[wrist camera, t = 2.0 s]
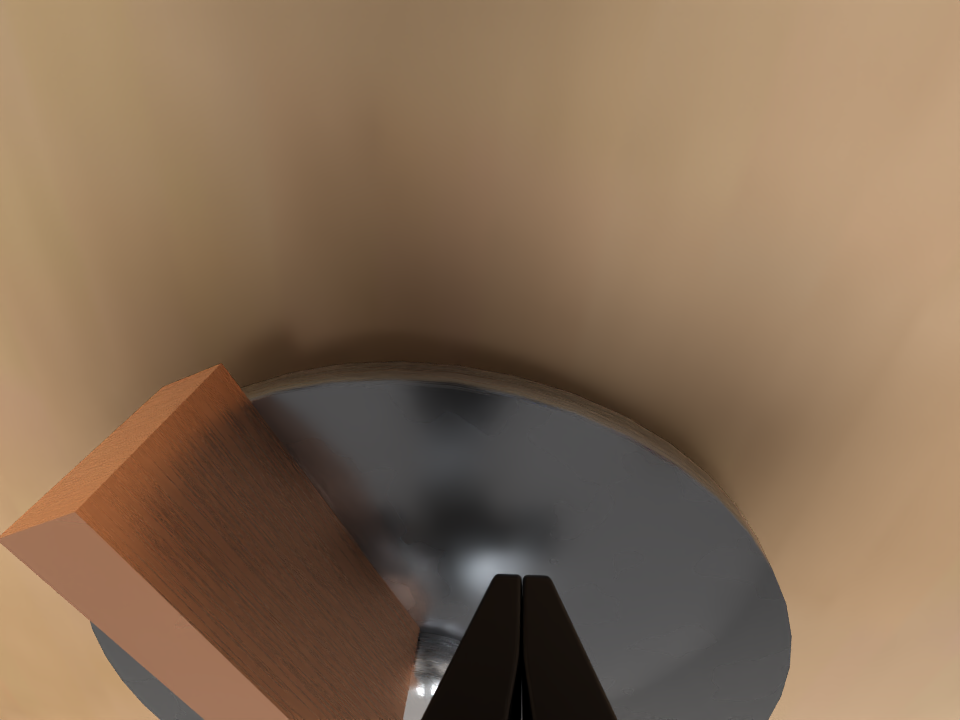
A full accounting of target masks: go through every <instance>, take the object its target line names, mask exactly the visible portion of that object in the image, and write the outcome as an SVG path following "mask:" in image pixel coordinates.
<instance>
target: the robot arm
mask: <svg viewBox="0 0 960 720" xmlns="http://www.w3.org/2000/svg"><path fill="white" fill-rule="evenodd" d="M521 718H522V720H618V719H617V717H616V715H615V713H614V711H613V709H612V706H611V704H610V702H609V700H608V698H607V696H606V694H605V692H604V689H603V687H602V685H601V683H600V681H599V679H598V677H597V675H596V672H595V670H594V668H593V666H592V664H591V662H590V660H589V658H588V655H587V653H586V651H585V649H584V647H583V645H582V643H581V641H580V638H579V636H578V634H577V632H576V630H575V628H574V626H573V624H572V621H571V619H570V617H569V615H568V613H567V611H566V609H565V607H564V604H563V602H562V600H561V598H560V596H559V594H558V592H557V590H556V587H555V585H554V583H553V581H552V580H551V578H550V577H549V576H546V575H525V576H524V577H523V580H522V578H521V576H520V575H518V574H496V575H495V576H494V577H493V579H492V580H491V582H490V584H489V586H488V588H487V590H486V592H485V594H484V596H483V598H482V600H481V602H480V604H479V606H478V608H477V610H476V612H475V614H474V616H473V618H472V620H471V622H470V624H469V626H468V628H467V630H466V632H465V633H464V635H463V637H462V639H461V641H460V643H459V645H458V647H457V649H456V651H455V653H454V655H453V657H452V659H451V661H450V663H449V665H448V667H447V669H446V671H445V673H444V675H443V677H442V679H441V681H440V683H439V685H438V687H437V689H436V691H435V693H434V694H433V696H432V698H431V700H430V702H429V704H428V706H427V708H426V710H425V712H424V714H423V716H422V718H421V720H521Z"/></svg>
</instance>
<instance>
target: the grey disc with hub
mask: <svg viewBox="0 0 960 720" xmlns="http://www.w3.org/2000/svg"><path fill="white" fill-rule="evenodd" d="M0 543H1V544H2V545H3V546H5V547H6V548H7V549H8V550H9V551H10V552H11V553H13V554H14V555H15V556H16V557H17V558H18V559H20V560H21V561H22V562H23V563H24V564H25V565H26V566H28V567H29V568H30V569H31V570H32V571H33V572H35V573H36V574H37V575H38V576H39V577H40V578H41V579H43V580H44V581H45V582H46V583H47V584H48V585H50V586H51V587H52V588H53V589H54V590H55V591H56V592H58V593H59V594H60V595H61V596H62V597H63V598H65V599H66V600H67V601H68V602H69V603H70V604H71V605H73V606H74V607H75V608H76V609H77V610H78V611H80V612H81V613H82V614H83V615H84V616H85V617H86V618H88V619H89V620H90V623H91V626H92V629H93V632H94V634H95V636H96V638H97V640H98V642H99V644H100V646H101V648H102V650H103V652H104V654H105V656H106V657H107V659H108V660H109V662H110V663H111V665H112V666H113V668H114V669H115V671H116V672H117V673H118V675H119V676H120V678H121V679H122V681H123V682H124V683H125V684H126V685H127V686H128V688H129V689H130V690H131V691H132V692H133V693H134V694H135V695H136V697H137V698H138V699H139V700H140V701H141V702H142V703H143V704H144V705H145V706H146V707H147V708H148V709H149V710H150V711H151V712H152V713H153V714H155V715H156V716H157V717H158V718H159V719H160V720H421V718H422V716H423V714H424V712H425V710H426V708H427V706H428V704H429V702H430V700H431V698H432V696H433V694H434V693H435V691H436V689H437V687H438V685H439V683H440V681H441V679H442V677H443V675H444V673H445V671H446V669H447V667H448V665H449V663H450V661H451V659H452V657H453V655H454V653H455V651H456V649H457V647H458V645H459V643H460V641H461V639H462V637H463V635H464V633H465V632H466V630H467V628H468V626H469V624H470V622H471V620H472V618H473V616H474V614H475V612H476V610H477V608H478V606H479V604H480V602H481V600H482V598H483V596H484V594H485V592H486V590H487V588H488V586H489V584H490V582H491V580H492V579H493V577H494V576H495V575H496V574H518V575H520V576H521V578H522V580H523V577H524V576H525V575H546V576H549V577H550V578H551V580H552V581H553V583H554V585H555V587H556V590H557V592H558V594H559V596H560V598H561V600H562V602H563V604H564V607H565V609H566V611H567V613H568V615H569V617H570V619H571V621H572V624H573V626H574V628H575V630H576V632H577V634H578V636H579V638H580V641H581V643H582V645H583V647H584V649H585V651H586V653H587V655H588V658H589V660H590V662H591V664H592V666H593V668H594V670H595V672H596V675H597V677H598V679H599V681H600V683H601V685H602V687H603V689H604V692H605V694H606V696H607V698H608V700H609V702H610V704H611V706H612V709H613V711H614V713H615V715H616V717H617V719H618V720H768V719H769V717H770V716H771V714H772V712H773V710H774V708H775V706H776V704H777V703H778V701H779V699H780V697H781V695H782V691H783V688H784V685H785V681H786V678H787V674H788V671H789V668H790V653H791V638H792V636H791V630H790V624H789V618H788V612H787V606H786V602H785V600H784V597H783V595H782V592H781V590H780V587H779V585H778V582H777V580H776V577H775V575H774V572H773V570H772V568H771V566H770V563H769V561H768V559H767V557H766V555H765V553H764V551H763V549H762V547H761V544H760V542H759V540H758V538H757V537H756V535H755V533H754V532H753V530H752V529H751V527H750V526H749V524H748V523H747V521H746V519H745V518H744V516H743V515H742V513H741V512H740V510H739V508H738V507H737V505H736V504H735V503H734V502H733V501H732V500H731V499H730V498H729V497H728V495H727V494H726V493H725V492H724V491H723V490H722V489H721V488H720V487H719V486H718V485H717V483H716V482H715V481H714V480H713V479H712V478H711V477H710V476H709V475H708V474H707V473H706V472H705V471H704V470H703V469H701V468H700V467H699V466H698V465H696V464H695V463H694V462H693V461H691V460H690V459H689V458H688V457H686V456H685V455H684V454H683V453H681V452H680V451H679V450H678V449H677V448H675V447H674V446H673V445H672V444H670V443H669V442H667V441H666V440H664V439H662V438H661V437H659V436H657V435H656V434H654V433H652V432H651V431H649V430H647V429H646V428H644V427H642V426H641V425H639V424H637V423H636V422H634V421H632V420H631V419H629V418H627V417H626V416H624V415H621V414H619V413H617V412H615V411H612V410H610V409H608V408H606V407H603V406H601V405H599V404H596V403H594V402H592V401H590V400H587V399H585V398H583V397H581V396H578V395H576V394H574V393H571V392H567V391H564V390H561V389H558V388H554V387H551V386H548V385H545V384H541V383H538V382H535V381H531V380H528V379H525V378H522V377H518V376H514V375H508V374H503V373H497V372H492V371H486V370H481V369H476V368H470V367H465V366H459V365H446V364H432V363H417V362H403V361H395V362H373V363H351V364H339V365H333V366H327V367H322V368H316V369H310V370H304V371H298V372H292V373H288V374H284V375H281V376H278V377H275V378H271V379H268V380H265V381H262V382H258V383H255V384H252V385H249V386H245V387H242V388H240V387H239V386H238V384H237V383H236V382H235V380H234V379H233V378H232V376H231V375H230V374H229V372H228V371H227V370H226V368H225V367H224V366H223V364H222V363H221V364H218V365H216V366H213V367H211V368H208V369H206V370H203V371H201V372H199V373H196V374H194V375H191V376H189V377H186V378H184V379H181V380H179V381H177V382H174V383H172V384H169V385H167V386H164V387H162V388H161V389H160V390H159V391H158V392H157V393H156V394H155V395H153V396H152V397H151V398H150V399H149V400H148V401H147V402H146V403H145V404H144V405H143V406H141V407H140V408H139V409H138V410H137V411H136V412H135V413H134V414H133V415H132V416H131V417H129V418H128V419H127V420H126V421H125V422H124V423H123V424H122V425H121V426H120V427H119V428H117V429H116V430H115V431H114V432H113V433H112V434H111V435H110V436H109V437H108V438H107V439H105V440H104V441H103V442H102V443H101V444H100V445H99V446H98V447H97V448H96V449H95V450H93V451H92V452H91V453H90V454H89V455H88V456H87V457H86V458H85V459H84V460H82V461H81V462H80V463H79V464H78V465H77V466H76V467H75V468H74V469H73V470H72V471H70V472H69V473H68V474H67V475H66V476H65V477H64V478H63V479H62V480H61V481H60V482H58V483H57V484H56V485H55V486H54V487H53V488H52V489H51V490H50V491H49V492H48V493H46V494H45V495H44V496H43V497H42V498H41V499H40V500H39V501H38V502H37V503H36V504H34V505H33V506H32V507H31V508H30V509H29V510H28V511H27V512H26V513H25V514H24V515H22V516H21V517H20V518H19V519H18V520H17V521H16V522H15V523H14V524H13V525H12V526H10V527H9V528H8V529H7V530H6V531H5V532H4V533H3V534H2V535H1V536H0ZM521 720H522V718H521Z"/></svg>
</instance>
